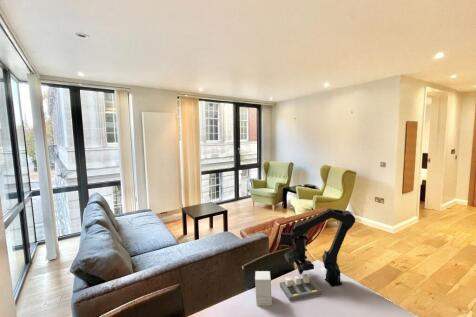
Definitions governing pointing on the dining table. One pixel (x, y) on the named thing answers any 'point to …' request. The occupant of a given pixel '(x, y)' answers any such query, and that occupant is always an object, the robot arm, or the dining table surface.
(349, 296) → the dining table surface
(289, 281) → the switch tab
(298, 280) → the switch tab
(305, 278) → the switch tab
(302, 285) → the switch panel
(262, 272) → the supplement box
